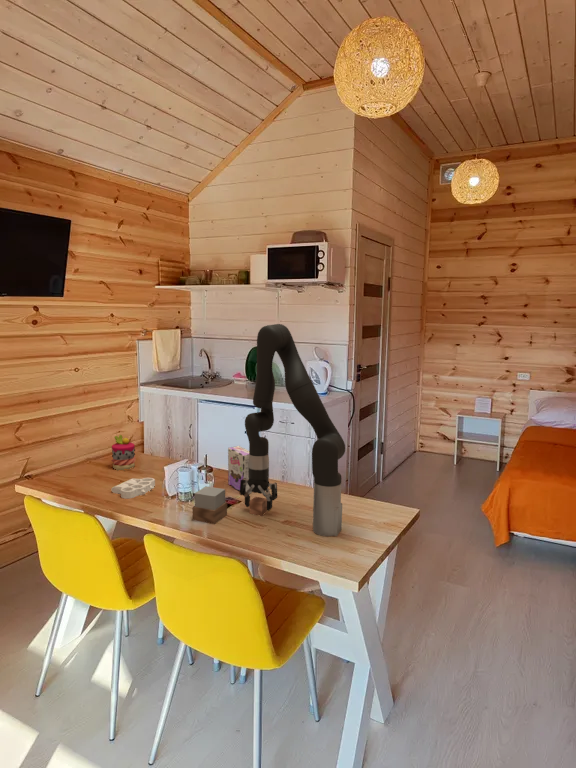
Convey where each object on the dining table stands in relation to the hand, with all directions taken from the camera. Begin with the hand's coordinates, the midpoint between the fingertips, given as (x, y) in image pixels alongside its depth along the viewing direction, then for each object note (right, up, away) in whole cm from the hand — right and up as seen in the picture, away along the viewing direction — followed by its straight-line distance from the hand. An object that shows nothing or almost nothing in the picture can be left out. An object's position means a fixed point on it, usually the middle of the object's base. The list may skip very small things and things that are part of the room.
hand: (258, 508), depth 190 cm
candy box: (-9, +2, +26) cm, 28 cm away
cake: (-66, +6, +51) cm, 84 cm away
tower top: (-17, +3, -5) cm, 18 cm away
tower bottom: (-17, -2, -5) cm, 18 cm away
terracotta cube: (0, -2, 0) cm, 2 cm away
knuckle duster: (-52, +1, +21) cm, 56 cm away
